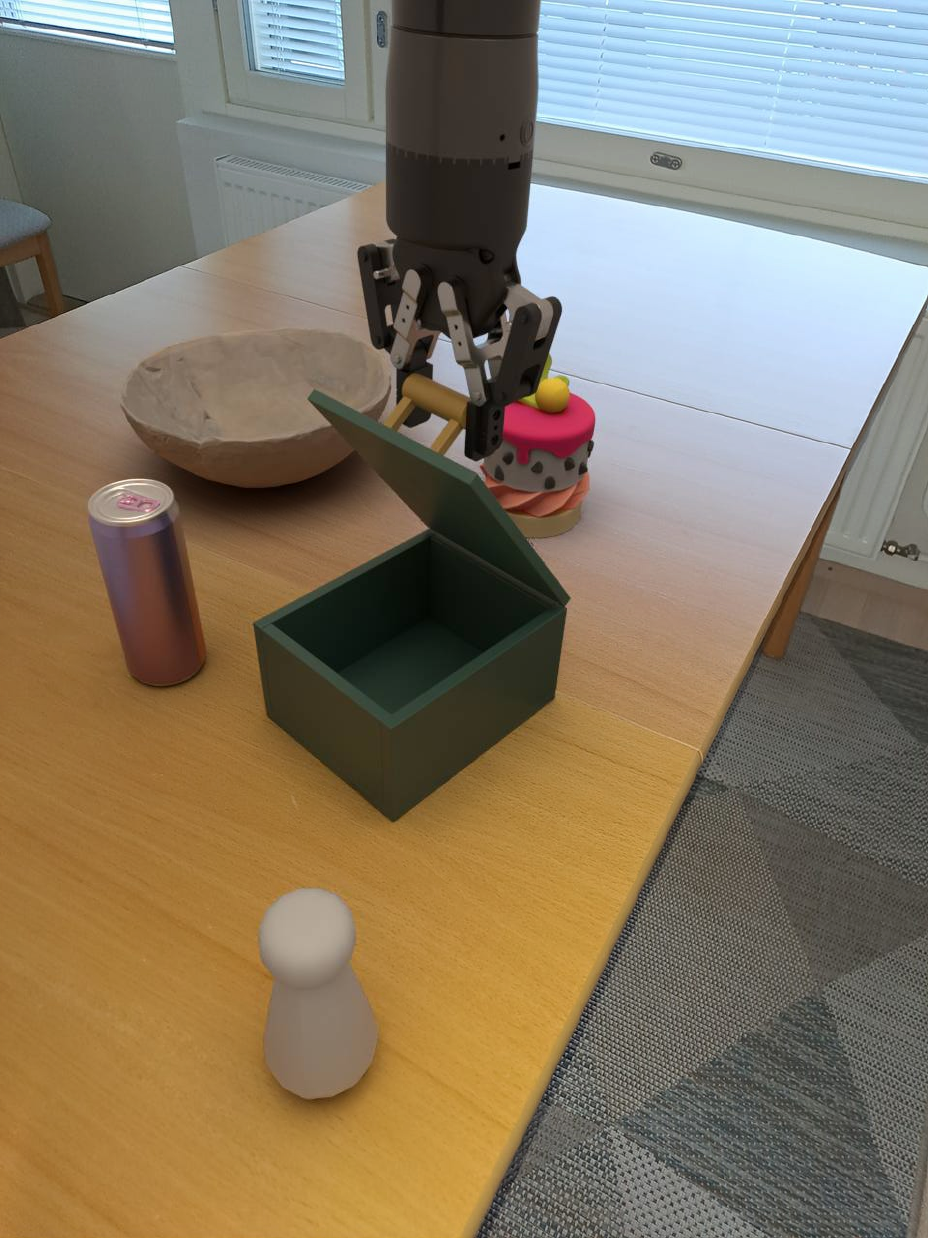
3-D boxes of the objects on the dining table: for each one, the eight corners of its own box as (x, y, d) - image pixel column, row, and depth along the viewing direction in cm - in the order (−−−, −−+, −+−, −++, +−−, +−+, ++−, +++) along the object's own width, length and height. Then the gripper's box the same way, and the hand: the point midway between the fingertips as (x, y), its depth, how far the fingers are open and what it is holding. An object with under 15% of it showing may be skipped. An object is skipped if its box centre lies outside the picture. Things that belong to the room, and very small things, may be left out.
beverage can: (180, 698, 68) (143, 531, 59) (112, 678, 70) (65, 512, 60) (222, 649, 73) (193, 486, 63) (156, 631, 74) (119, 469, 65)
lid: (469, 484, 49) (524, 407, 49) (306, 398, 56) (356, 331, 56) (565, 607, 64) (607, 547, 64) (427, 527, 71) (465, 473, 71)
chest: (393, 823, 60) (391, 729, 54) (266, 715, 67) (252, 622, 62) (555, 698, 70) (567, 607, 64) (428, 615, 77) (430, 527, 71)
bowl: (79, 496, 89) (53, 402, 83) (229, 388, 108) (218, 305, 102) (317, 561, 82) (309, 463, 76) (432, 434, 102) (433, 347, 95)
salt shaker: (389, 1099, 47) (384, 964, 38) (276, 1132, 45) (246, 999, 37) (366, 994, 51) (356, 852, 43) (262, 1021, 50) (232, 880, 41)
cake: (605, 511, 90) (627, 368, 81) (535, 553, 84) (550, 404, 75) (526, 471, 96) (538, 333, 86) (455, 508, 90) (460, 363, 80)
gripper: (311, 117, 48) (325, 416, 58) (518, 173, 40) (491, 505, 51) (415, 104, 52) (411, 384, 63) (619, 152, 44) (575, 462, 55)
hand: (447, 437), depth 57 cm, fingers closed on lid, 5 cm apart
